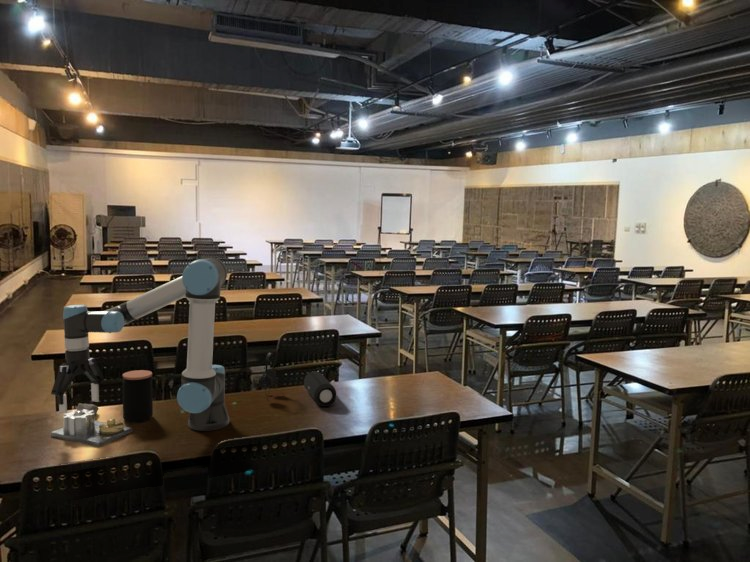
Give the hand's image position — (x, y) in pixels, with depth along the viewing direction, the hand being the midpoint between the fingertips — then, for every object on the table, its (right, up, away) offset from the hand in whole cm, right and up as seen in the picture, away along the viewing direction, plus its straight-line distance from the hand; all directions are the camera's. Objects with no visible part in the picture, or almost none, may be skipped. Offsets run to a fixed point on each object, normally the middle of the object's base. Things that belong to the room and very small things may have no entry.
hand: (79, 406), depth 199 cm
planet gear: (-1, -9, +1) cm, 9 cm away
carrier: (+4, -10, +2) cm, 11 cm away
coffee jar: (+13, -9, +18) cm, 24 cm away
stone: (-7, -8, +18) cm, 21 cm away
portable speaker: (+81, -8, +50) cm, 95 cm away
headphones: (+60, -7, +50) cm, 78 cm away
